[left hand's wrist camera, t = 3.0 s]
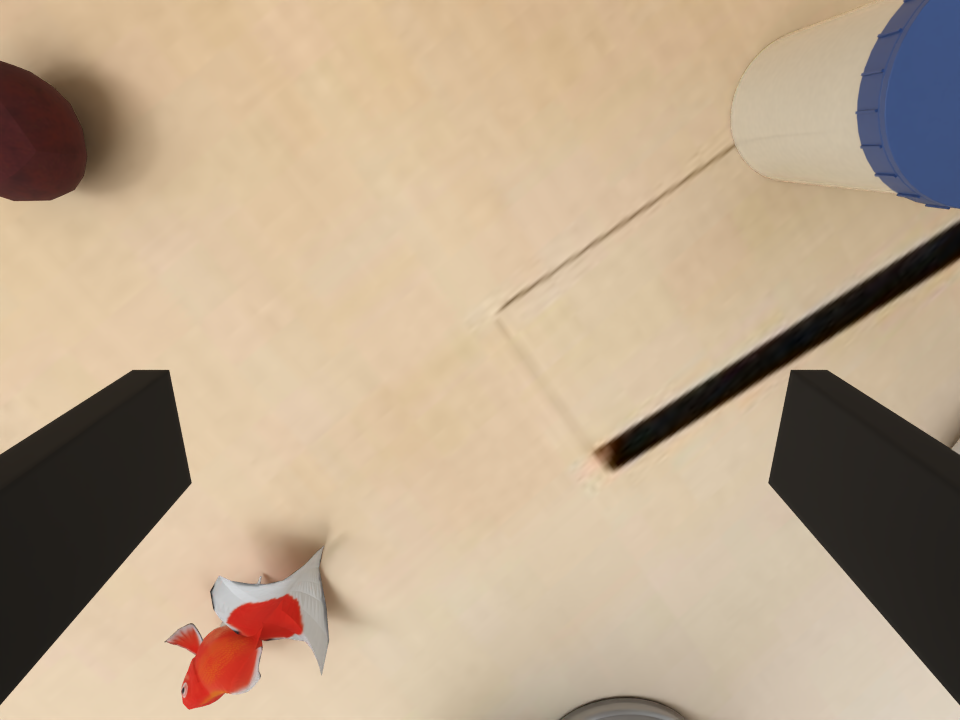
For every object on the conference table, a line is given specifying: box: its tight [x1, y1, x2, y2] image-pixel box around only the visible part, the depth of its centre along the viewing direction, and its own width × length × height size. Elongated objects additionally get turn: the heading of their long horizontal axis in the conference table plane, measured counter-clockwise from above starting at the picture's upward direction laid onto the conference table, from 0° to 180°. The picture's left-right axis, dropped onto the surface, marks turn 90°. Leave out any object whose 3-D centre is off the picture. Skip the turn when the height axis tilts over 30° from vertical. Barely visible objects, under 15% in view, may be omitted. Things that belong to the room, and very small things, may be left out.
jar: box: [731, 0, 904, 194], centre depth 29 cm, size 9×9×15 cm
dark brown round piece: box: [0, 61, 87, 201], centre depth 33 cm, size 7×8×7 cm
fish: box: [165, 546, 329, 710], centre depth 45 cm, size 11×16×10 cm
